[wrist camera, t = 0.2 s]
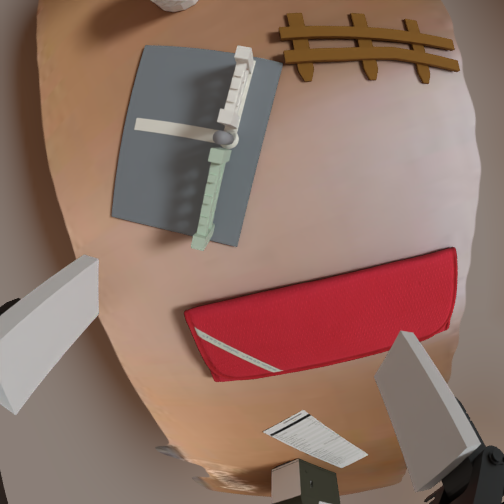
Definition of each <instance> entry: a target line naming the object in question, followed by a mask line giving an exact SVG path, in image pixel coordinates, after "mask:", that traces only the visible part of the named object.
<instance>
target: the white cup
mask: <svg viewBox="0 0 504 504" xmlns="http://www.w3.org/2000/svg"><path fill="white" fill-rule="evenodd" d="M151 1H152V2H153V3H155V4H156V5H157V6H158V7H160V8H161V9H162V10H164V11H170V12H177V11H182V10H185V9H187V8H189V7H191V6H193V5H195V4H196V2H197V1H198V0H151Z"/></svg>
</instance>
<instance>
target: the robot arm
mask: <svg viewBox="0 0 504 504" xmlns="http://www.w3.org/2000/svg"><path fill="white" fill-rule="evenodd" d="M98 265H99V259H97V258H94V257H91V256H87V255H83V256H81V257H80V258H78V259H77V260H75V261H74V262H72V263H71V264H69V265H68V266H66V267H65V268H63V269H62V270H61V271H59V272H58V273H56V274H55V275H53V276H52V277H51V278H49V279H48V280H46V281H45V282H44V283H42V284H41V285H40V286H38V287H37V288H36V289H34V290H33V291H31V292H30V293H29V294H28V295H26V296H25V297H24V298H22V299H19V298H17V299H14V300H12V301H9V302H7V303H5V304H4V305H3V306H1V307H0V404H1V405H2V406H4V407H5V408H6V409H8V410H9V411H11V412H12V413H13V414H15V415H16V414H17V413H18V412H19V410H20V409H21V407H22V406H23V404H24V403H25V402H26V401H27V399H28V398H29V397H30V396H31V394H32V393H33V392H34V390H35V389H36V388H37V387H38V385H39V384H40V383H41V382H42V380H43V379H44V378H45V376H46V375H47V374H48V373H49V372H50V370H51V369H52V368H53V367H54V365H55V364H56V363H57V362H58V361H59V359H60V358H61V357H62V356H63V355H64V353H65V352H66V351H67V350H68V349H69V347H70V346H71V345H72V344H73V343H74V342H75V340H76V339H77V338H78V337H79V336H80V334H81V333H82V332H83V331H84V330H85V329H86V328H87V327H88V326H89V324H90V323H91V322H92V321H93V320H94V319H95V318H96V317H97V316H98V314H99V306H98ZM374 378H375V380H376V383H377V385H378V388H379V390H380V393H381V396H382V398H383V401H384V403H385V406H386V409H387V411H388V414H389V417H390V419H391V422H392V425H393V427H394V430H395V433H396V436H397V439H398V442H399V444H400V447H401V450H402V453H403V456H404V459H405V462H406V465H407V468H408V471H409V474H410V477H411V481H412V484H413V487H414V490H415V492H419V491H424V490H427V489H431V488H432V487H433V486H435V485H436V484H437V483H438V482H440V481H441V480H442V483H443V486H442V487H440V488H439V489H438V490H437V491H435V492H434V493H432V494H431V495H430V496H428V497H427V498H426V499H425V501H424V502H427V501H429V500H430V499H432V498H433V497H435V499H434V500H433V501H431V502H430V503H429V504H504V502H503V503H501V501H502V497H503V496H504V454H503V453H502V452H501V450H500V449H498V448H497V447H494V446H487V447H486V446H485V445H484V443H483V441H482V439H481V437H480V435H479V433H478V431H477V430H476V428H475V426H474V424H473V423H472V421H470V417H469V416H468V414H467V413H466V410H465V409H464V407H463V405H462V404H461V402H460V401H459V400H458V399H457V398H456V397H455V396H454V395H453V393H452V392H451V390H450V388H449V387H448V385H447V383H446V382H445V380H444V379H443V377H442V375H441V374H440V372H439V371H438V369H437V367H436V366H435V364H434V363H433V361H432V360H431V358H430V357H429V355H428V354H427V352H426V351H425V349H424V348H423V346H422V345H421V343H420V342H419V340H418V339H417V337H416V336H415V334H414V333H412V332H406V331H400V332H399V334H398V336H397V338H396V340H395V341H394V343H393V345H392V347H391V349H390V350H389V352H388V354H387V356H386V357H385V359H384V361H383V363H382V364H381V366H380V368H379V369H378V371H377V373H376V374H375V376H374ZM0 504H8V501H7V498H6V494H5V490H4V486H3V482H2V477H1V472H0Z"/></svg>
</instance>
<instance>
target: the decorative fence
mask: <svg viewBox="0 0 504 504" xmlns="http://www.w3.org/2000/svg"><path fill="white" fill-rule="evenodd" d="M350 16H351V20H352V23H353V27H349V26H305V25H304V20H303V16H302V13H289V14H287V19H288V23H289V27H279V34H280V38H281V41H283V40H292V42H293V47H294V50H286V51H284V52H283V54H284V59H285V64H297V67H298V72H299V74H300V75H301V77H302V78H303V80H304V82H310V81H312V77H313V72H314V67H313V62H337V61H358V60H361V61H362V65H363V70H364V72H365V73H366V75H367V77H368V79H369V80H376V79H377V73H378V67H377V62H376V60H398V61H405V62H411V63H415V64H416V69H417V73H418V75H419V77H420V79H421V81H422V83H424V84H428V83H429V79H430V71H429V66H432V67H437V68H442V69H446V70H450V71H454V72H458V71H460V69H459V64H458V61H457V60H453V59H449V58H445V57H441V56H437V55H433V54H428V53H425V49H424V46H429V47H434V48H440V49H445V50H450V51H452V50H455V48H454V45H453V41H452V40H451V39H447V38H442V37H437V36H432V35H427V34H422V33H420V31H419V28H418V24H417V21H415V20H409V19H404V22H405V25H406V29H407V31H402V30H394V29H384V28H371V27H368V25H367V22H366V18H365V15H364V14H357V13H351V14H350ZM308 39H357V43H358V47H350V48H316V49H310V47H309V42H308ZM372 40H380V41H391V42H400V43H408V44H411V47H412V50H408V49H402V48H395V47H373V45H372Z"/></svg>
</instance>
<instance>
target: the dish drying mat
mask: <svg viewBox="0 0 504 504" xmlns="http://www.w3.org/2000/svg"><path fill="white" fill-rule="evenodd" d="M457 269H458V266H457V253H456V249H455V248H454V247H451V248H448V249H444V250H440V251H437V252H434V253H430V254H426V255H422V256H418V257H414V258H410V259H405V260H400V261H396V262H392V263H388V264H384V265H380V266H376V267H372V268H368V269H364V270H359V271H355V272H351V273H347V274H342V275H338V276H334V277H329V278H325V279H321V280H317V281H312V282H306V283H301V284H296V285H292V286H287V287H283V288H279V289H274V290H269V291H264V292H260V293H256V294H251V295H247V296H243V297H238V298H234V299H230V300H225V301H221V302H216V303H211V304H207V305H203V306H199V307H195V308H192V309H189V310H185V312H184V316H185V319H186V322H187V324H188V326H189V328H190V331H191V333H192V336H193V338H194V340H195V343H196V345H197V347H198V350H199V352H200V354H201V356H202V358H203V360H204V361H205V363H206V365H207V366H208V367H209V369H210V371H211V374H212V377H213V379H214V381H215V382H225V381H235V380H250V379H258V378H264V377H269V376H275V375H281V374H286V373H292V372H298V371H303V370H309V369H314V368H319V367H324V366H329V365H333V364H337V363H341V362H346V361H350V360H354V359H359V358H363V357H367V356H371V355H374V354H378V353H382V352H385V351H389V350H390V349H391V347H392V345H393V343H394V341H395V340H396V338H397V336H398V334H399V332H400V331H406V332H412V333H414V334H415V336H416V337H417V339H418V340H419V342H421V341H424V340H426V339H429V338H430V337H432V336H434V335H435V334H437V333H440V332H442V331H445V330H447V329H448V328H449V325H450V318H451V315H452V313H453V309H454V305H455V299H456V292H457V275H458V271H457Z"/></svg>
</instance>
